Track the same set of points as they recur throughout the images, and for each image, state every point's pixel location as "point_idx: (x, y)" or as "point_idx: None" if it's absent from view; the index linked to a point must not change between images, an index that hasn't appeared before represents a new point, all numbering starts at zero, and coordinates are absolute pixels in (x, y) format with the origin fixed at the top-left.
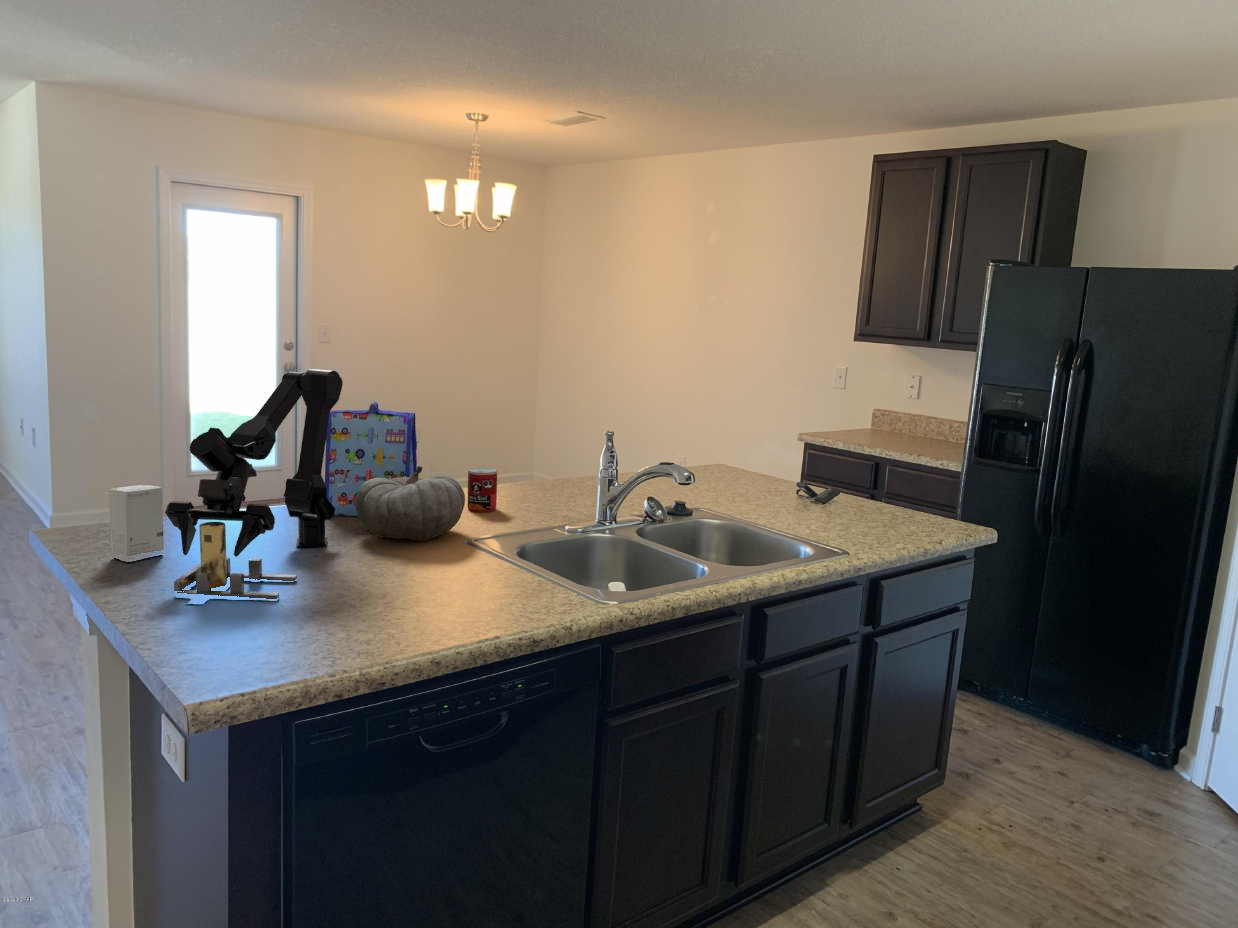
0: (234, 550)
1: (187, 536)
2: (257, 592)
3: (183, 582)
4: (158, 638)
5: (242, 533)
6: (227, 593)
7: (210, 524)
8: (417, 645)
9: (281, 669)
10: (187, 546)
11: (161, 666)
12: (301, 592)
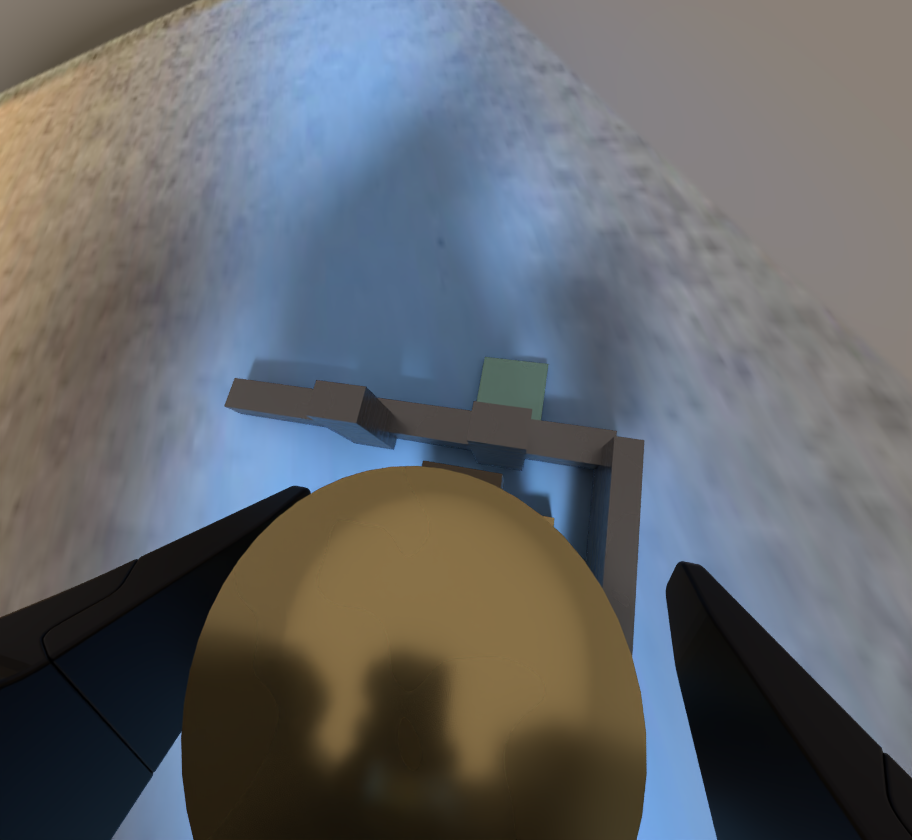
0: (291, 499)
1: (777, 728)
2: (296, 413)
3: (606, 485)
4: (541, 120)
5: (109, 600)
6: (402, 408)
7: (432, 710)
8: (21, 121)
9: (265, 18)
10: (696, 630)
11: (485, 5)
12: (165, 483)
